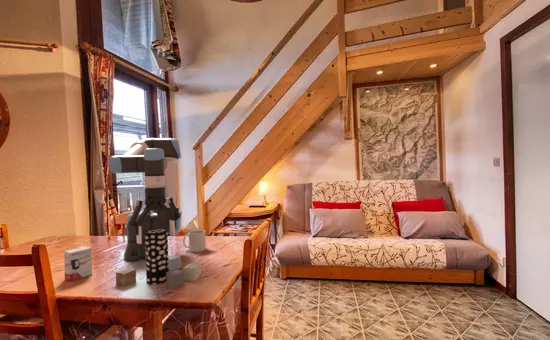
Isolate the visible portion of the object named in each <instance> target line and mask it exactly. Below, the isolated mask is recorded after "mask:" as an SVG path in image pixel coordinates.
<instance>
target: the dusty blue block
mask: <svg viewBox="0 0 550 340" xmlns="http://www.w3.org/2000/svg"><path fill="white" fill-rule="evenodd" d="M168 263H169V272H170V271H174V270H177V269H181V268H182V257H181V256H180V255H178V254H172V255H170V256H169V255H168Z"/></svg>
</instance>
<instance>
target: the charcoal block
mask: <svg viewBox="0 0 550 340" xmlns="http://www.w3.org/2000/svg"><path fill="white" fill-rule="evenodd" d="M165 283H166V286H167V287H168V288H169V289H170V290H174V289H176V288H179V287H183V286H185V280H184V272H183V270H181V268H178V269H175V270H172V271H170V270H169V272H166V282H165Z"/></svg>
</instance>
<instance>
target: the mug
mask: <svg viewBox="0 0 550 340" xmlns="http://www.w3.org/2000/svg"><path fill="white" fill-rule="evenodd" d="M186 237H188V245H187V244H186V242H185V240H186ZM206 242H207V241H206V230H203V229H197V230H196V229H195V230H191V231H188V233H187V234H185V235H184V236H183V240H182V244H183V246H184V248H187V249H188V250H189V252H191V253H199V252H203V251H205V250H206V249H207V247H206Z"/></svg>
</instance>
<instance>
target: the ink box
mask: <svg viewBox="0 0 550 340" xmlns="http://www.w3.org/2000/svg"><path fill="white" fill-rule="evenodd" d="M63 253H64V258H63V259H64V280H66V281H68V282H73V281H75V280H79V279H81V278H82V279H83V278H84V277H87V276H91V275H93V259H92V258H93V257H92V255H93V253H92V247H89V246H81V247H77V248H73V249H68V250H65V251H63Z"/></svg>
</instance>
